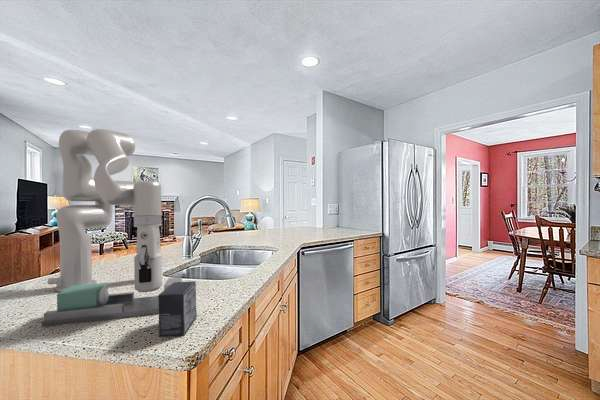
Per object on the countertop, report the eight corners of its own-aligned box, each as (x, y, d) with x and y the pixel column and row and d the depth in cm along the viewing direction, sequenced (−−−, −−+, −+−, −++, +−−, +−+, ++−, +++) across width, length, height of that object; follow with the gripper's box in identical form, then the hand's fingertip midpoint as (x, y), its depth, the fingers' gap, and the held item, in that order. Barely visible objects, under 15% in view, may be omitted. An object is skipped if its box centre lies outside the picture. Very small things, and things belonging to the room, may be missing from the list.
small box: (173, 318, 77) (173, 281, 78) (197, 317, 78) (197, 280, 78) (157, 337, 67) (156, 294, 67) (184, 336, 68) (184, 293, 68)
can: (133, 294, 81) (133, 253, 81) (135, 287, 87) (135, 249, 87) (162, 290, 84) (162, 251, 84) (162, 284, 91) (161, 247, 91)
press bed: (41, 327, 73) (41, 298, 73) (65, 310, 84) (64, 285, 84) (177, 311, 83) (177, 286, 83) (182, 297, 94) (182, 275, 94)
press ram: (57, 315, 76) (57, 294, 76) (71, 305, 83) (71, 285, 83) (100, 311, 78) (99, 290, 78) (110, 301, 86) (110, 282, 86)
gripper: (155, 222, 78) (156, 285, 78) (166, 219, 95) (166, 270, 95) (125, 223, 76) (126, 288, 76) (141, 219, 93) (141, 272, 93)
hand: (148, 278), depth 86 cm, fingers closed on can, 7 cm apart
